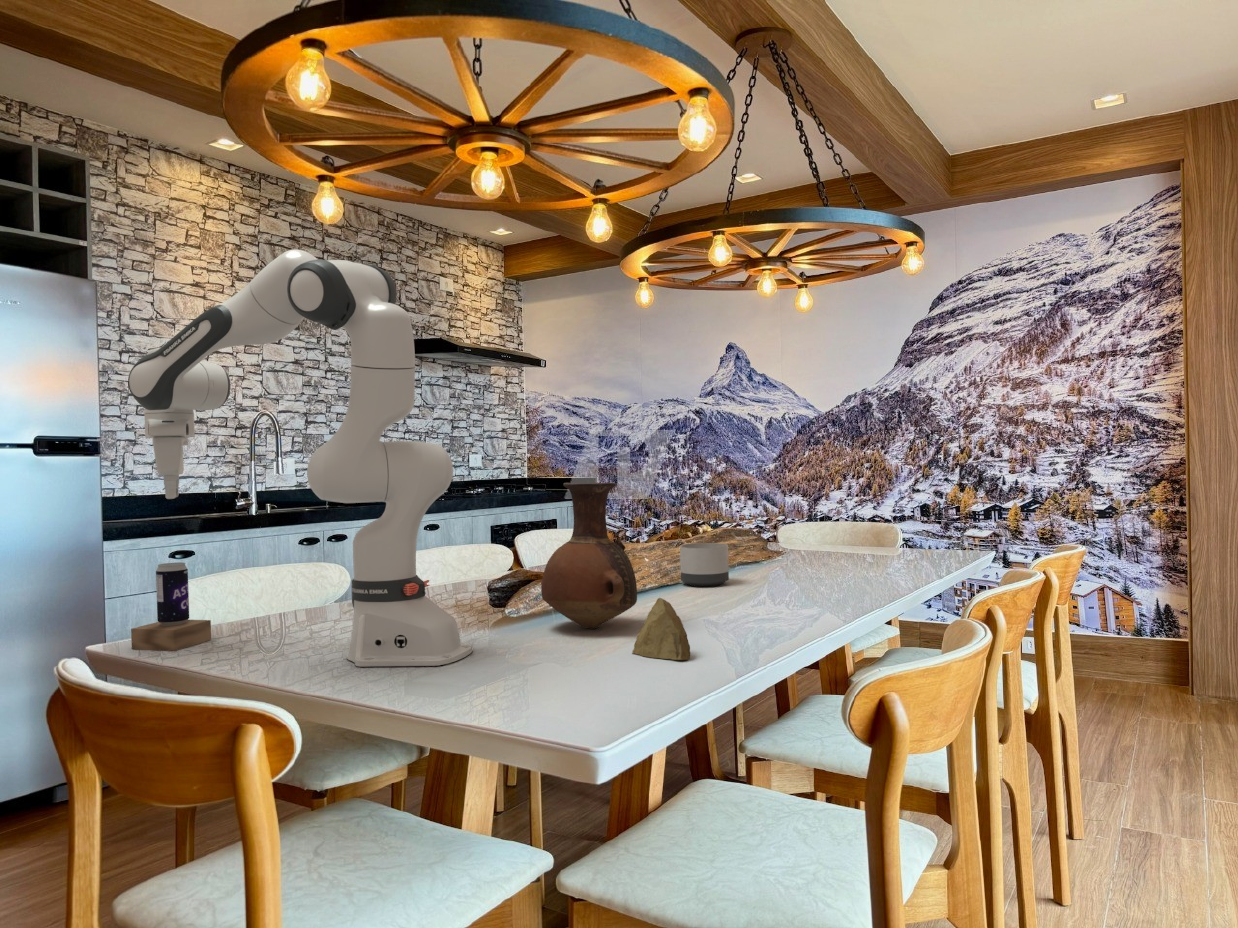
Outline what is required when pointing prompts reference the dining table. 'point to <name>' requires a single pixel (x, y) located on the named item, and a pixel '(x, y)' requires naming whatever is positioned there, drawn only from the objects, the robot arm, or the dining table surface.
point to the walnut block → (170, 635)
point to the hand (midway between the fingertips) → (172, 498)
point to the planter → (704, 564)
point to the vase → (589, 564)
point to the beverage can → (172, 594)
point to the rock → (662, 634)
